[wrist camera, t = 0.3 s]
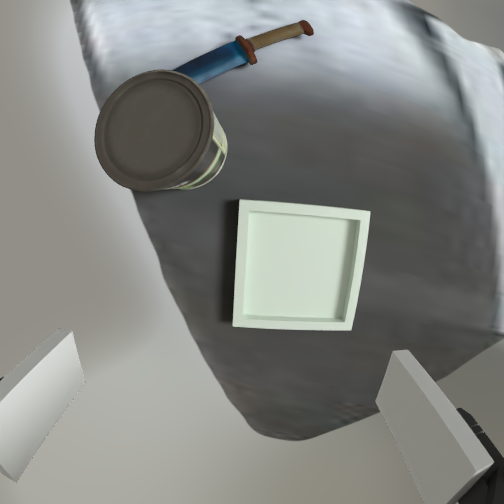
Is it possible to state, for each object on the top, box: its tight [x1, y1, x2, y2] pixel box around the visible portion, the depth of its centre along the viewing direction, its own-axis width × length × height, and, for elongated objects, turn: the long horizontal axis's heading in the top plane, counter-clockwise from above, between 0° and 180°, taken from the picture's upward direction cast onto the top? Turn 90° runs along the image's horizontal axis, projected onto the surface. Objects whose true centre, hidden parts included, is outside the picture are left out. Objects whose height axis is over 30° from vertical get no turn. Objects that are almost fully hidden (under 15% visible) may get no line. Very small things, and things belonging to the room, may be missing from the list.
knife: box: [172, 20, 314, 84], centre depth 30 cm, size 24×3×5 cm
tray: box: [233, 199, 370, 330], centre depth 36 cm, size 16×16×2 cm
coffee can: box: [95, 70, 227, 192], centre depth 27 cm, size 10×10×14 cm
